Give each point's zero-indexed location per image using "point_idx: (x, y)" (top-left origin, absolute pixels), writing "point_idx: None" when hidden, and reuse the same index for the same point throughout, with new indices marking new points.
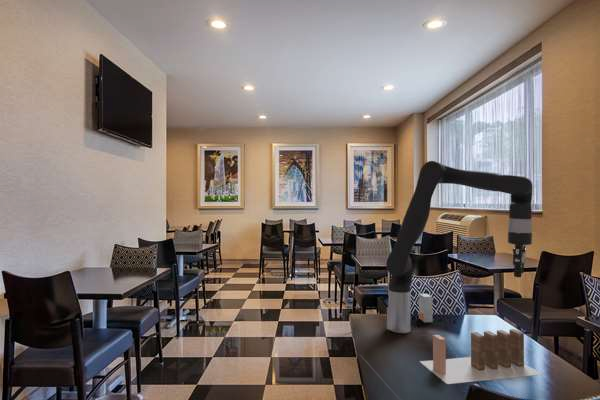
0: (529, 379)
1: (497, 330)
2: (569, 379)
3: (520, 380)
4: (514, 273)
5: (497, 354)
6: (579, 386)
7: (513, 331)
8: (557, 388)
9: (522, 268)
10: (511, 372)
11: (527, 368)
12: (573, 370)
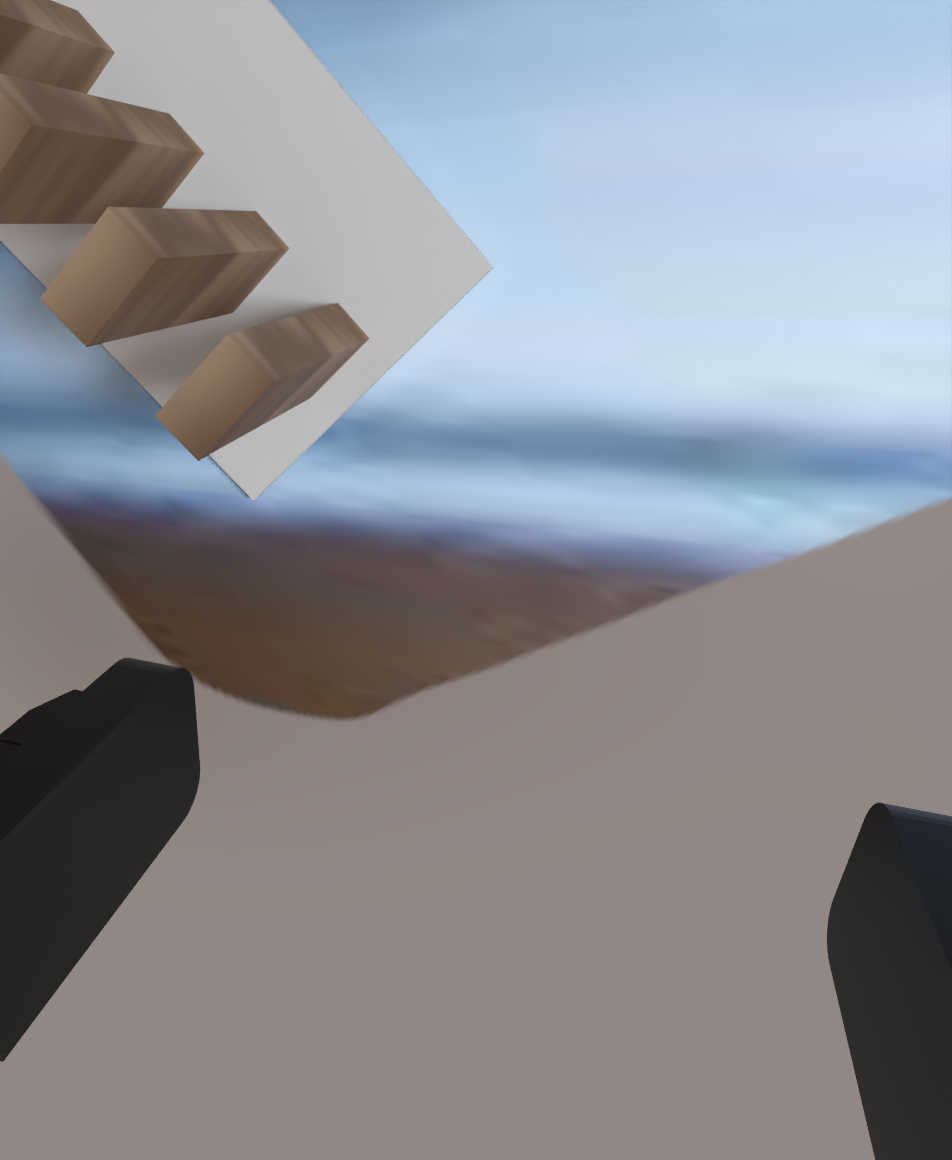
0: None
1: (110, 213)
2: (303, 621)
3: (105, 365)
4: (76, 706)
5: (82, 220)
6: (238, 649)
7: (194, 371)
8: (137, 545)
9: (865, 1055)
10: None
11: (286, 416)
12: (459, 665)
